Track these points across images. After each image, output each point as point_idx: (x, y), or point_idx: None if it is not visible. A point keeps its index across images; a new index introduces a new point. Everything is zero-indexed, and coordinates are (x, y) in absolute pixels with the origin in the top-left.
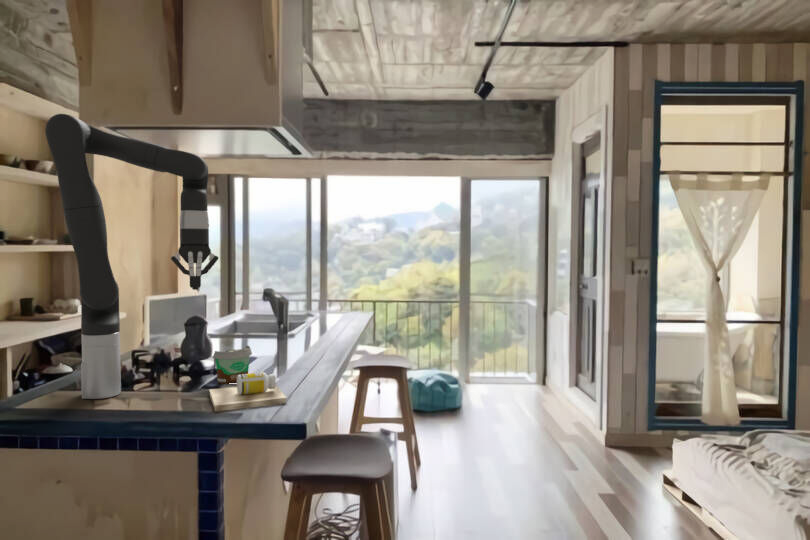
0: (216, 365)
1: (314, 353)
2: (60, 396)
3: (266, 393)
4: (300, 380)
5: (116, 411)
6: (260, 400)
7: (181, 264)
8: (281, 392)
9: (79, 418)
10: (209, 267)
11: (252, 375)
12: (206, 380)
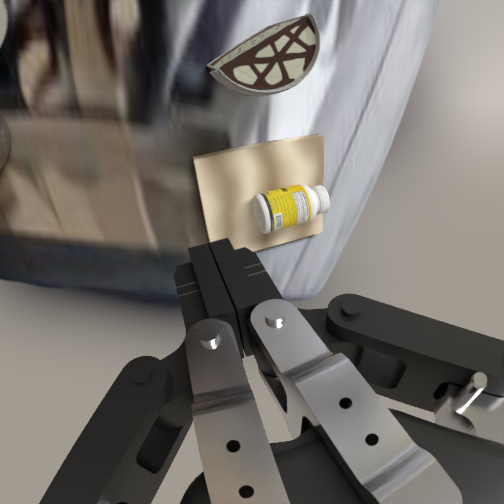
0: (213, 69)
1: None
2: None
3: None
4: (367, 93)
5: (51, 246)
6: (284, 242)
7: (157, 488)
8: None
9: (19, 273)
10: (388, 375)
11: (291, 223)
12: (177, 31)
